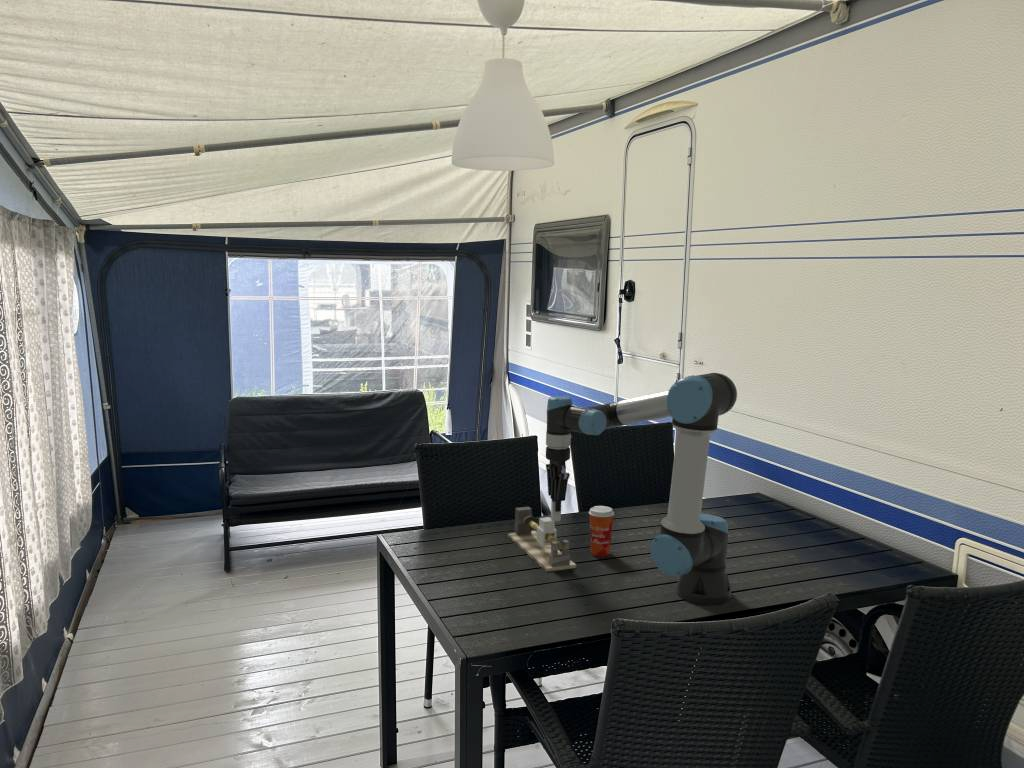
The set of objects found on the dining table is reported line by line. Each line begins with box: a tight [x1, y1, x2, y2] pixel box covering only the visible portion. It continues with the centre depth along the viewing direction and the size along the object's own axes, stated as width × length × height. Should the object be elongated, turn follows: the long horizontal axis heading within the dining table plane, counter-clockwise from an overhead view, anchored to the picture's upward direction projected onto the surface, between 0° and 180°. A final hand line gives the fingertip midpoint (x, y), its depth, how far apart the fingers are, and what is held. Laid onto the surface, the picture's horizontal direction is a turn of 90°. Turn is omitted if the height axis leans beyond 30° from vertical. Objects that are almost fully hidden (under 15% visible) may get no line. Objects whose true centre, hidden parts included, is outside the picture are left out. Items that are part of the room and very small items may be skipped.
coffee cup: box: [588, 505, 615, 557], centre depth 251 cm, size 8×8×15 cm
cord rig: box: [507, 506, 577, 572], centre depth 252 cm, size 34×10×10 cm, turn 21°
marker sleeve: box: [536, 516, 558, 546], centre depth 247 cm, size 5×5×8 cm
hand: (555, 520), depth 239 cm, fingers closed
